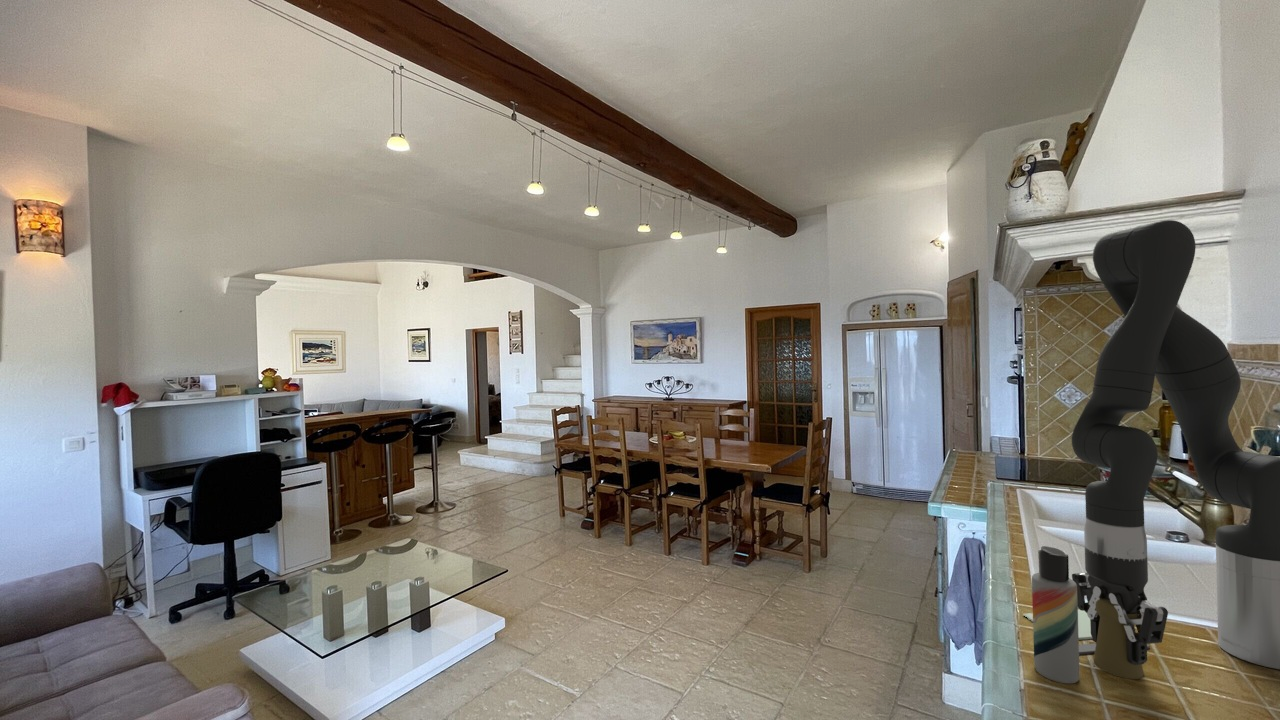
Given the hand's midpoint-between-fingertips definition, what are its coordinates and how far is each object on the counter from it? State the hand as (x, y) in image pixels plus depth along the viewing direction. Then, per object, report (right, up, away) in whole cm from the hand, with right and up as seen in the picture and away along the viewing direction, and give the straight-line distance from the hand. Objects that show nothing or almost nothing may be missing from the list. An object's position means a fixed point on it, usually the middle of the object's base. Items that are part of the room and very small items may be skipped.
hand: (1117, 652), depth 85 cm
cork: (0, -3, 0) cm, 3 cm away
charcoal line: (+2, -2, +5) cm, 6 cm away
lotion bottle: (-11, -3, -1) cm, 11 cm away
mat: (+3, -2, +13) cm, 13 cm away
